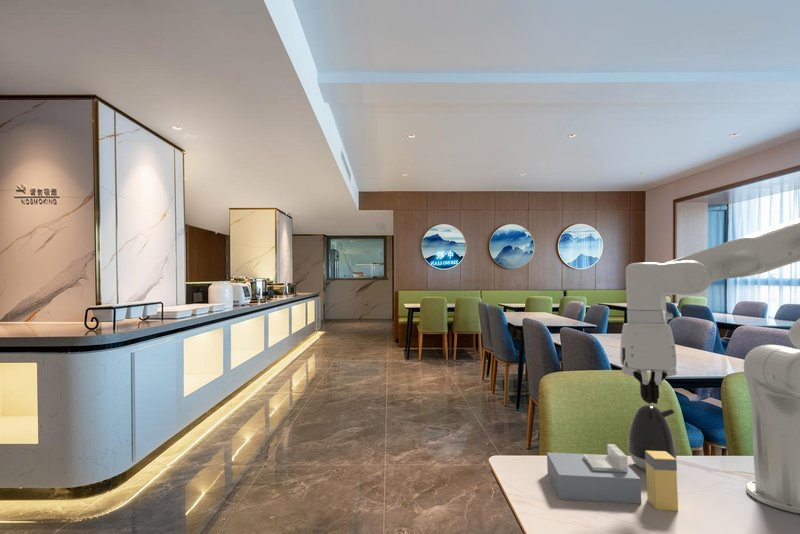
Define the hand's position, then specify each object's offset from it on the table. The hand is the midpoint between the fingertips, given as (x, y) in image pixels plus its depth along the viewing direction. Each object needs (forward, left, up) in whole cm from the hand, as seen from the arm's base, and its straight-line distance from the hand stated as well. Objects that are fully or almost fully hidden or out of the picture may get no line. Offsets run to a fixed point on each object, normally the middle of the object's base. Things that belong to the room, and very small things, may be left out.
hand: (650, 401), depth 91 cm
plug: (+1, +6, -19) cm, 20 cm away
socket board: (+13, 0, -19) cm, 23 cm away
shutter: (+10, 0, -14) cm, 17 cm away
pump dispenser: (-5, -12, -19) cm, 23 cm away
